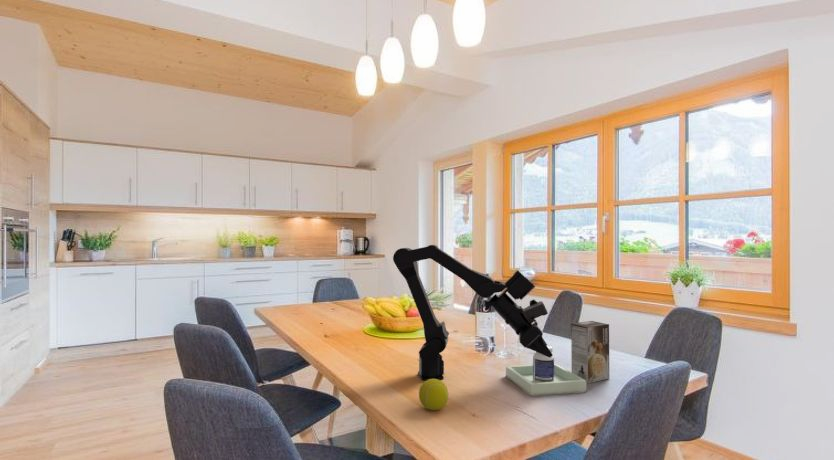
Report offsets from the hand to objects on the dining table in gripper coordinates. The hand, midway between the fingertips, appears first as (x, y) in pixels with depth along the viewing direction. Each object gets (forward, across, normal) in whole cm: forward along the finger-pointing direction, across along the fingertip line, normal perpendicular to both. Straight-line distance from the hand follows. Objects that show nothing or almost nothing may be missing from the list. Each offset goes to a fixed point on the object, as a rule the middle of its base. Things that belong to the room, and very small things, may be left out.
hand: (549, 351), depth 121 cm
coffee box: (+16, +8, -2) cm, 18 cm away
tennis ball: (-14, -23, +28) cm, 39 cm away
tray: (+5, 0, +7) cm, 9 cm away
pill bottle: (+5, 0, +7) cm, 9 cm away
